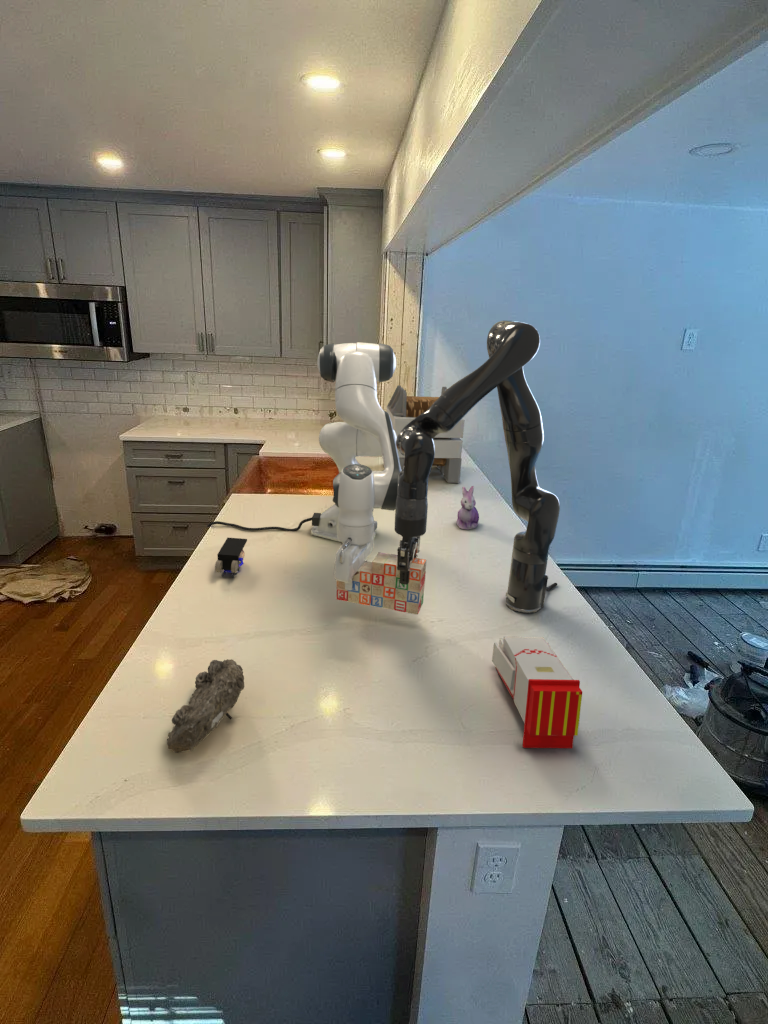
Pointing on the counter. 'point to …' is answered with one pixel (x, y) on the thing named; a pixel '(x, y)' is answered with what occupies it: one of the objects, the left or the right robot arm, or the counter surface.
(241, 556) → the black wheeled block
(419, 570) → the stack of blocks
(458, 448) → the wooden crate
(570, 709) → the toy
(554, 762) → the counter surface
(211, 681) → the fossil
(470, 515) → the figurine
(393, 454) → the left robot arm
